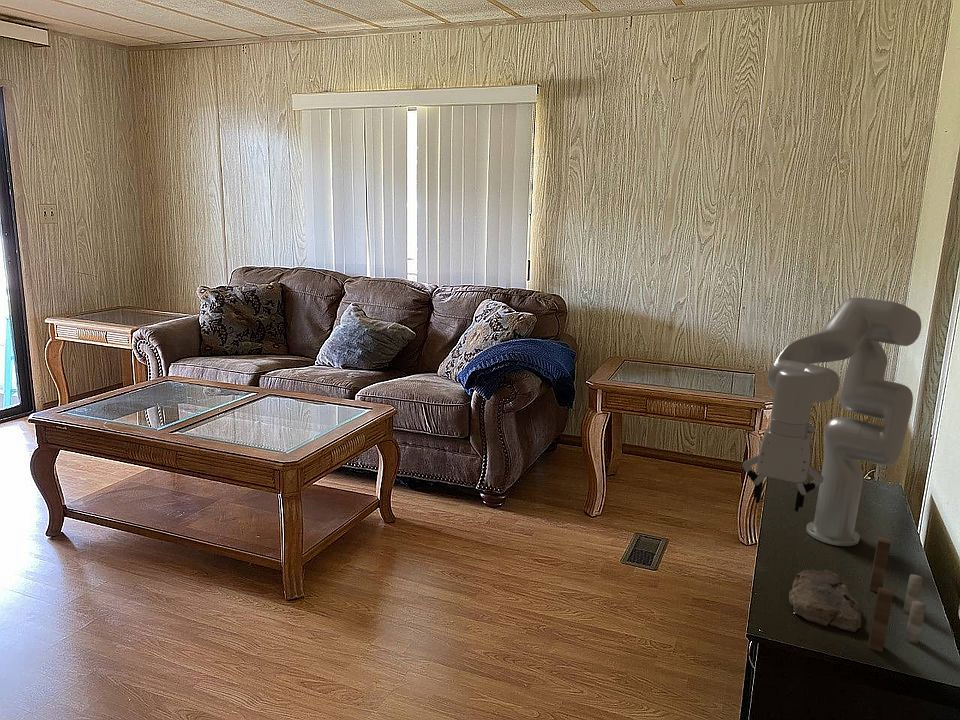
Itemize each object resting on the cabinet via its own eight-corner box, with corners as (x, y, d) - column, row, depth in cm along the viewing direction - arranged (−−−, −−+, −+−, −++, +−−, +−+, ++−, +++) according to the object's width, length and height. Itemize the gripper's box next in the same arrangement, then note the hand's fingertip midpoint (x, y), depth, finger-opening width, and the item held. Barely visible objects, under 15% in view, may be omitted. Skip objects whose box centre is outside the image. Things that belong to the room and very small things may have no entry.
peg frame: (869, 585, 169) (878, 536, 167) (914, 596, 166) (924, 546, 163) (868, 648, 146) (878, 592, 143) (920, 662, 142) (932, 606, 139)
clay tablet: (790, 575, 173) (785, 616, 155) (794, 555, 172) (789, 595, 154) (857, 592, 168) (860, 637, 150) (861, 572, 167) (864, 615, 149)
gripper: (834, 430, 157) (821, 508, 162) (748, 415, 165) (738, 490, 169) (832, 440, 151) (819, 521, 155) (742, 424, 159) (732, 502, 163)
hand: (777, 504), depth 162 cm, fingers open, 7 cm apart
